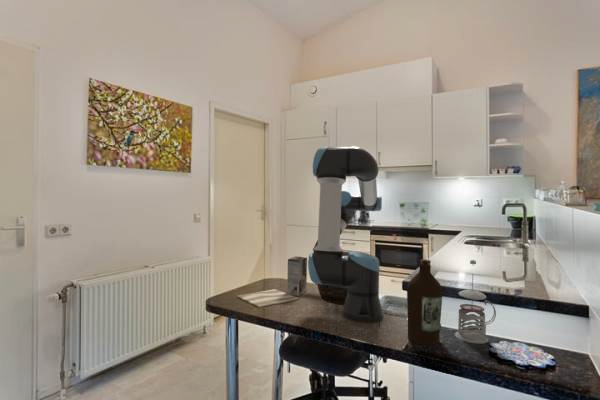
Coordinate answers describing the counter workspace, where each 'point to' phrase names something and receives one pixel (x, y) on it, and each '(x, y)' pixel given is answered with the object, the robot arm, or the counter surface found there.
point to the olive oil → (424, 306)
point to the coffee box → (297, 276)
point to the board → (267, 298)
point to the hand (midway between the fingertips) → (310, 264)
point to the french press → (473, 317)
